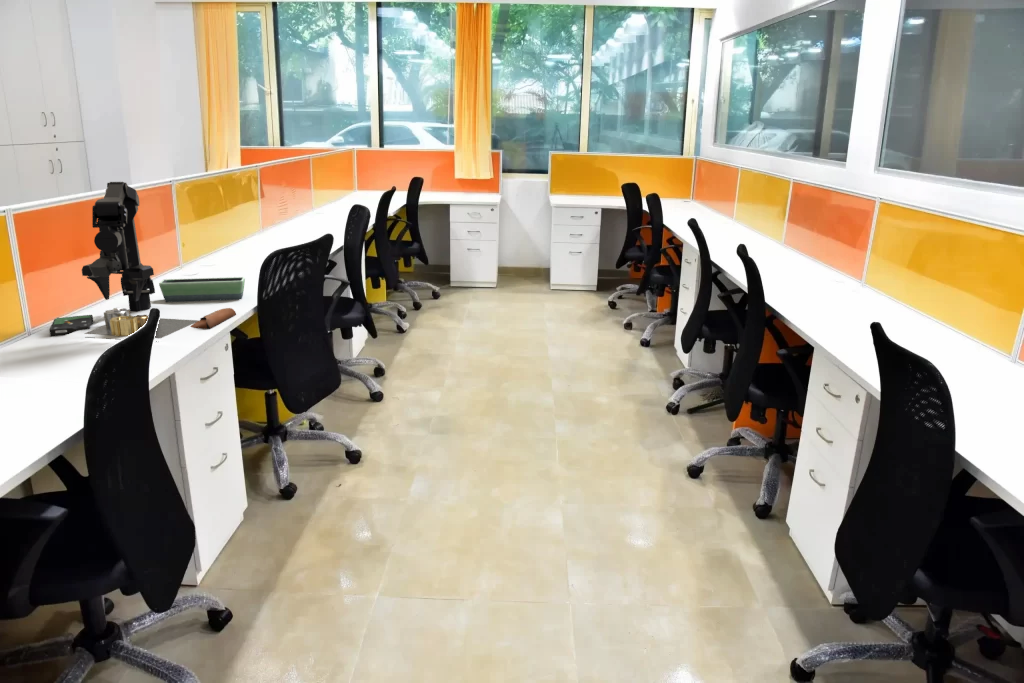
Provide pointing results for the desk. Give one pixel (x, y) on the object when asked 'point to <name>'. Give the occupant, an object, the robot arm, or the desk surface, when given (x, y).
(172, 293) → the planter
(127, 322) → the brass gear
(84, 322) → the disk drive
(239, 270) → the desk surface
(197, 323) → the sunglasses case
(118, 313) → the carrier
